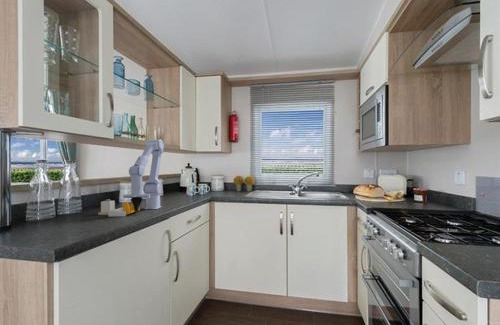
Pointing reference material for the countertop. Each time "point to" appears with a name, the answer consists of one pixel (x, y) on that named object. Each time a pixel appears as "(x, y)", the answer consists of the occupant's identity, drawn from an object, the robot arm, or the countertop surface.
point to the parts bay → (118, 212)
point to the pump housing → (107, 207)
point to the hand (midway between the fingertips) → (136, 210)
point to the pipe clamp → (128, 207)
